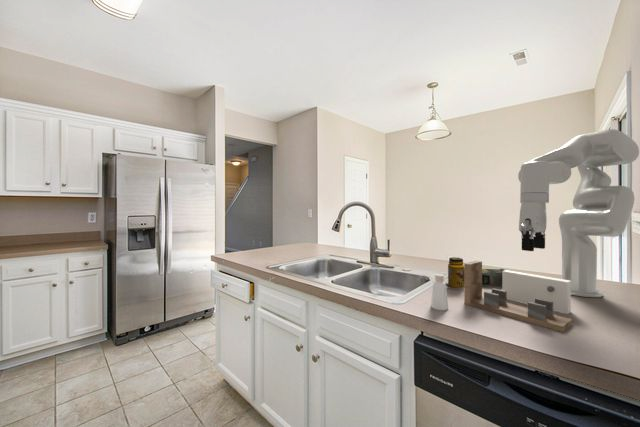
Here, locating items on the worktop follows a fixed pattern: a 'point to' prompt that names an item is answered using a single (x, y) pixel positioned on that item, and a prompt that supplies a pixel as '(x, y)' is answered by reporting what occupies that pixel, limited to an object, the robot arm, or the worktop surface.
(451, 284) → the condiment
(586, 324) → the worktop surface
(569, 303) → the door panel
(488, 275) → the juice carton
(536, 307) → the cabinet base
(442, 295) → the pepper shaker
